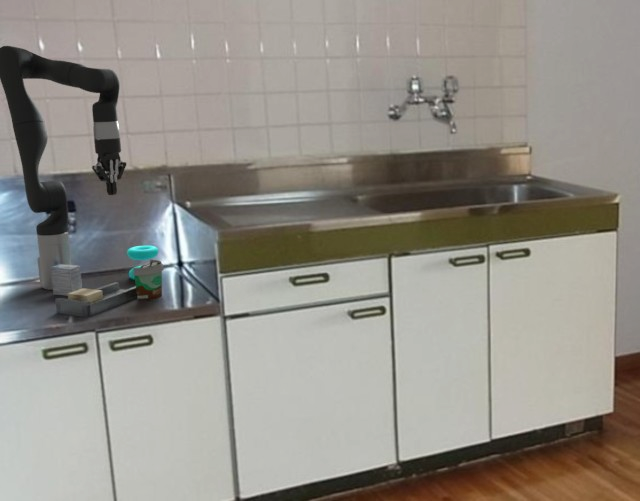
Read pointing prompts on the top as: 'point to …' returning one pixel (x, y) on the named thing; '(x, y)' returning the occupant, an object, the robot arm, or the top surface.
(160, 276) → the food container
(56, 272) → the medicine box
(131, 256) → the donuts
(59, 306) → the chute
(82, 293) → the beech block
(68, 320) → the top surface
